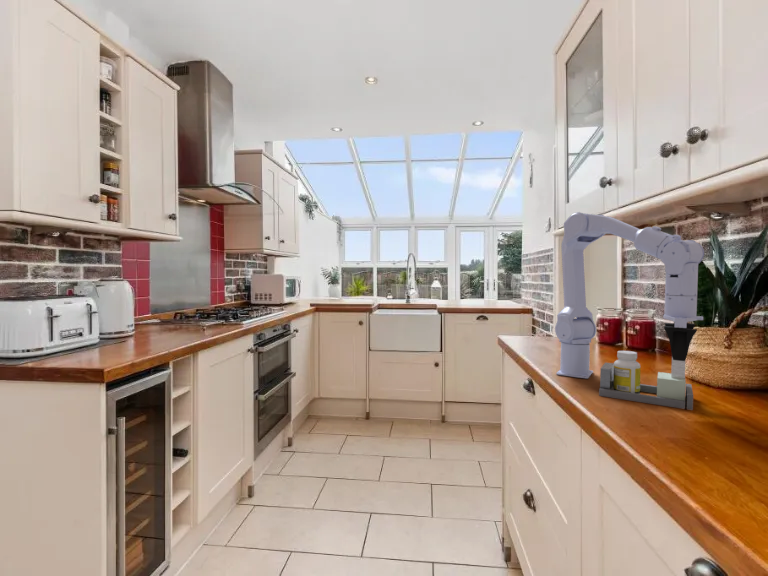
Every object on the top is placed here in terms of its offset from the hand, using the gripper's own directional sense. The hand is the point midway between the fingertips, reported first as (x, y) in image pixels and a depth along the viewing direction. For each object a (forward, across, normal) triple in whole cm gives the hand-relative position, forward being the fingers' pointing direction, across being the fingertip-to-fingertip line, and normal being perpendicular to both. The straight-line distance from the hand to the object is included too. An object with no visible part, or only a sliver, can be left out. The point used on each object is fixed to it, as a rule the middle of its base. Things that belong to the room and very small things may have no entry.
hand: (678, 357), depth 91 cm
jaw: (+9, 0, +1) cm, 10 cm away
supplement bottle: (+10, 0, +10) cm, 14 cm away
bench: (+10, 0, +6) cm, 11 cm away
